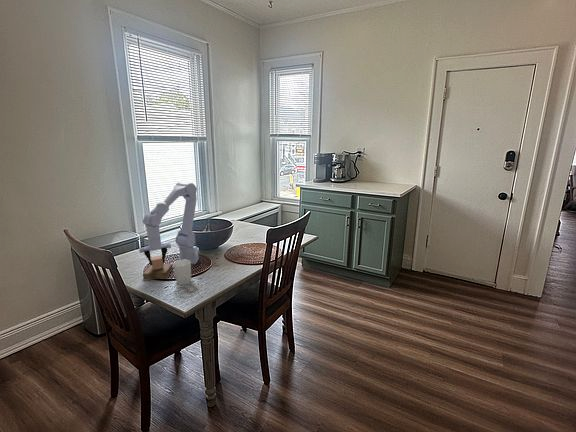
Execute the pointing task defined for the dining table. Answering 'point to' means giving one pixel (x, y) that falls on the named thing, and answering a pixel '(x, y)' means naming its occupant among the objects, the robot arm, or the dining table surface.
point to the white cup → (182, 271)
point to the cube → (157, 262)
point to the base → (158, 272)
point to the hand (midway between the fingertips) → (157, 263)
